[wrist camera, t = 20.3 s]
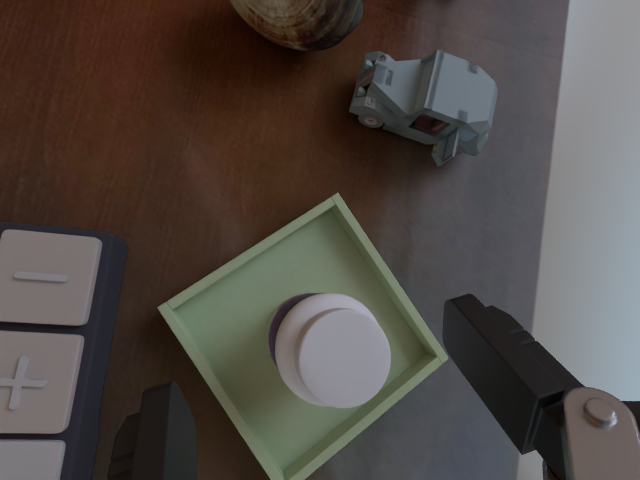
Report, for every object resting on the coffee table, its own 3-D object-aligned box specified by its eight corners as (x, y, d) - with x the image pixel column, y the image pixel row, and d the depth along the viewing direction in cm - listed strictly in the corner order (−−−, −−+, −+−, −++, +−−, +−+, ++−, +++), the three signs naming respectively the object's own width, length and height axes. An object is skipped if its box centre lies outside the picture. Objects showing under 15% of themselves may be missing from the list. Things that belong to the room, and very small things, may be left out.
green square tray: (279, 481, 24) (282, 498, 22) (164, 306, 24) (156, 307, 22) (433, 353, 27) (449, 358, 25) (331, 200, 27) (337, 192, 25)
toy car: (357, 69, 29) (379, 26, 25) (473, 113, 31) (515, 80, 26) (336, 145, 28) (355, 115, 23) (458, 187, 30) (499, 166, 25)
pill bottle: (260, 374, 24) (272, 424, 15) (271, 289, 25) (288, 285, 16) (343, 380, 25) (403, 430, 16) (350, 297, 26) (411, 298, 17)
